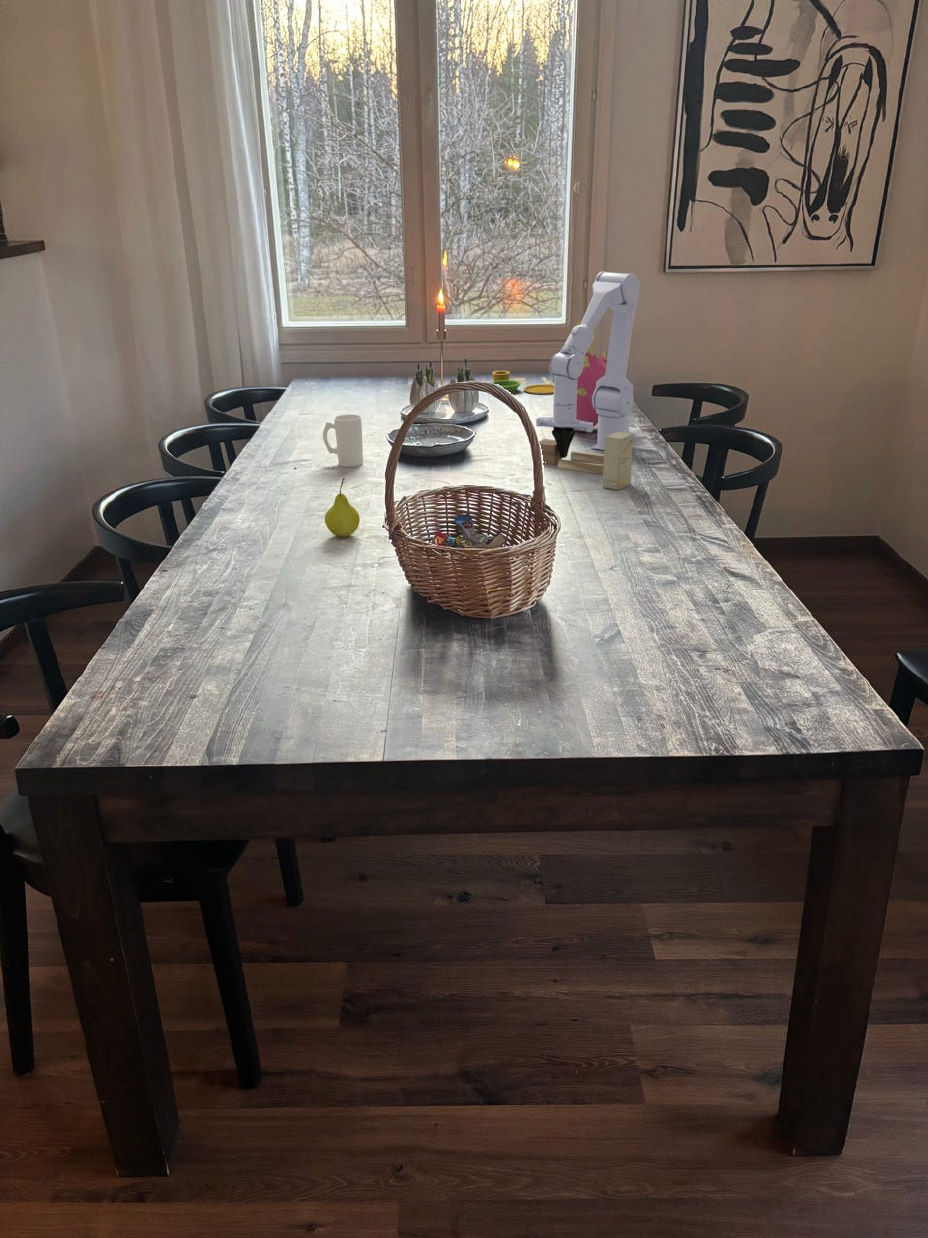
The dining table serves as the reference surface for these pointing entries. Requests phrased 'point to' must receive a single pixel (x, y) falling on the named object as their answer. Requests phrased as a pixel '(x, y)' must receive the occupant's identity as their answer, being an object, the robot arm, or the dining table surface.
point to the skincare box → (617, 460)
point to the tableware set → (512, 386)
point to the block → (550, 451)
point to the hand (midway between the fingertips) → (563, 456)
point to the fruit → (342, 517)
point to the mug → (346, 439)
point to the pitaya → (589, 385)
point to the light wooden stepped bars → (583, 465)
